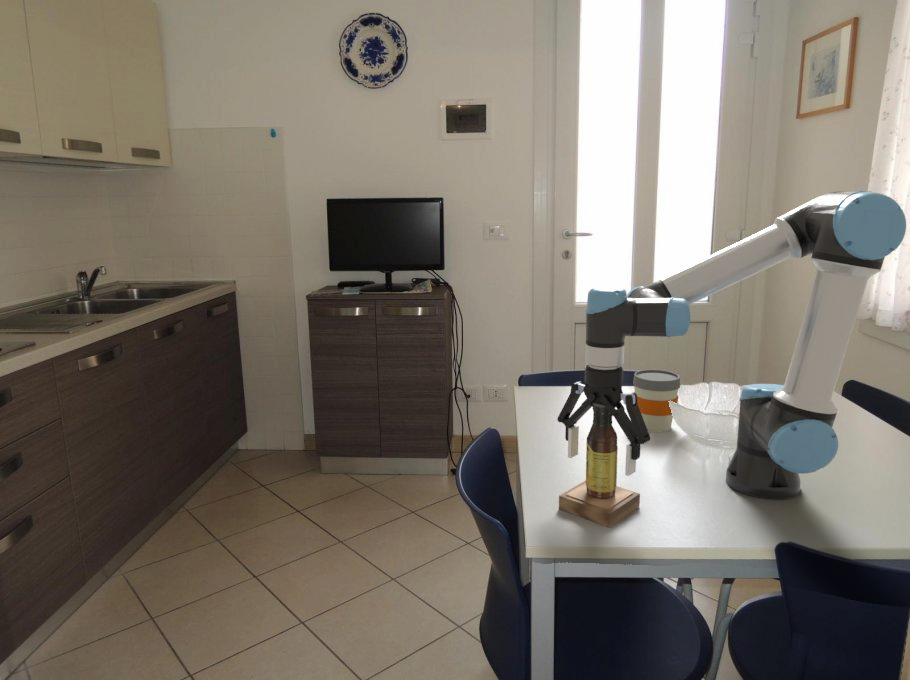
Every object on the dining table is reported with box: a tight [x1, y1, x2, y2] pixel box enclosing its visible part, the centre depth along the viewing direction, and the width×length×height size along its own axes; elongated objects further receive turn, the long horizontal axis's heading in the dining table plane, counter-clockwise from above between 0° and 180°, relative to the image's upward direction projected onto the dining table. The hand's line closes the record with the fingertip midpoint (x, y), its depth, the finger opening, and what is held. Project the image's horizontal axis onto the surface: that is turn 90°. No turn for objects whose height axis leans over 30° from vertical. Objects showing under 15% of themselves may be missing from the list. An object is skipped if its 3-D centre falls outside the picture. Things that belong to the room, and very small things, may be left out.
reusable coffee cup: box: [632, 369, 681, 433], centre depth 186 cm, size 13×13×15 cm
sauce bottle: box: [585, 403, 619, 498], centre depth 137 cm, size 6×6×20 cm
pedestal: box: [558, 480, 641, 529], centre depth 140 cm, size 12×12×3 cm
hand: (600, 464), depth 138 cm, fingers open, 13 cm apart
